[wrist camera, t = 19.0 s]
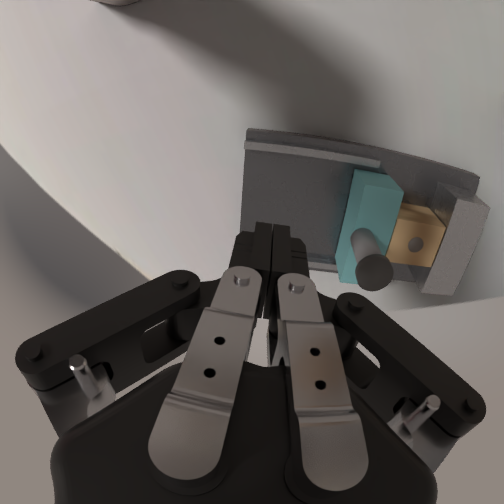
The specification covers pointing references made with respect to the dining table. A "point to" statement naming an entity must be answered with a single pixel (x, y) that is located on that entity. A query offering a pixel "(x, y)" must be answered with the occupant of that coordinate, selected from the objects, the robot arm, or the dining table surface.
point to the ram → (368, 230)
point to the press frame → (337, 194)
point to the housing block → (415, 236)
